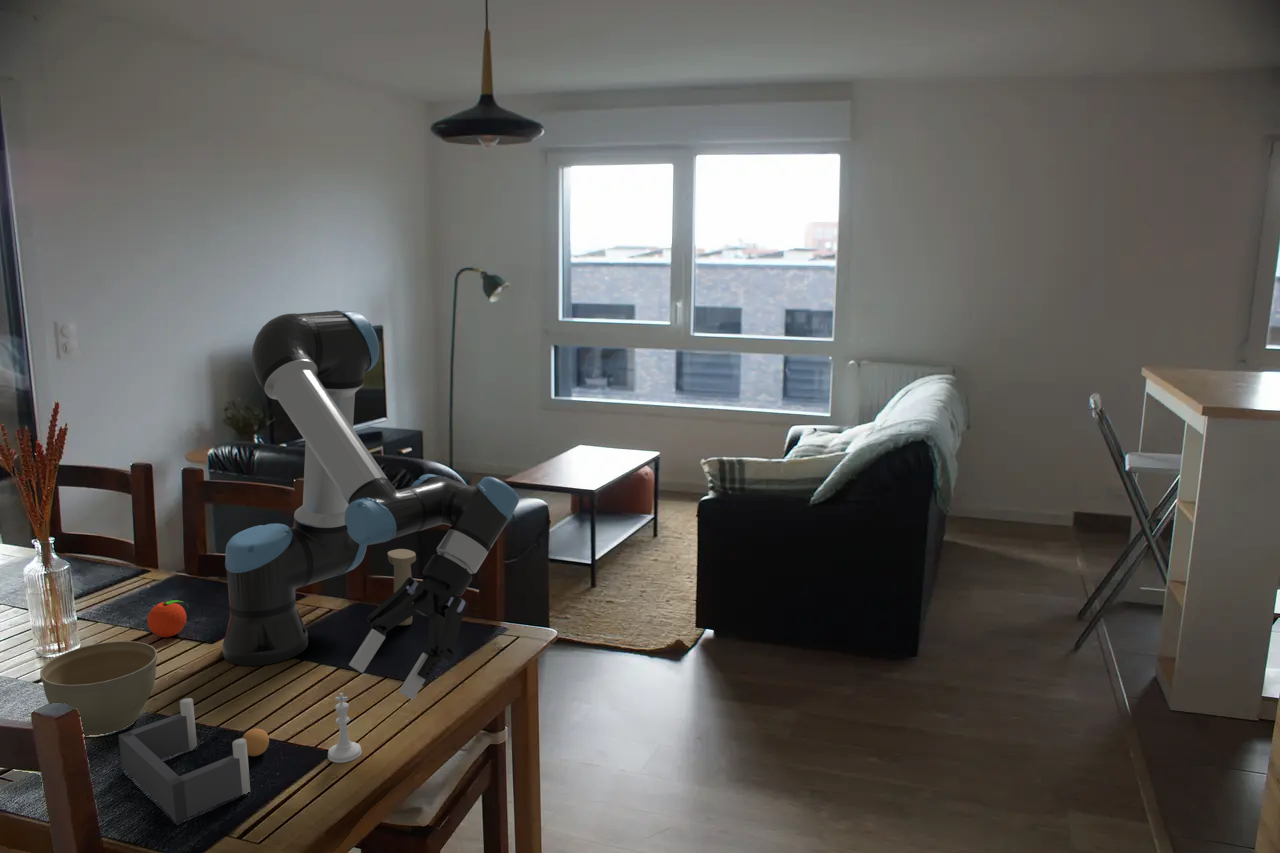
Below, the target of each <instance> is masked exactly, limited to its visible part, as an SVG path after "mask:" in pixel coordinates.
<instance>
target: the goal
mask: <svg viewBox="0 0 1280 853" xmlns="http://www.w3.org/2000/svg"><path fill="white" fill-rule="evenodd" d="M179 707H180V713H177V714H174V715H171V716H168V717H166V718H163V719H159V720H157V721H155V722H152V723H148V724H146V725H143V726H140V727H137V728H134V729H131V730H129V731H126V732H123V733H120V734H118V744H119V745H118V746H119V753H120V762H121V768H122V767H123V768H124V769H125V770H126V771H127V772H128V773H129V774H130V775H131V776H132V777H133V778H134V779H135V780H136V781H137V782H138V784H140V785H141V787H143V789H145V790H146V791H147V792H148V793H149V794H150V795H151V796H152V797H153V798H154V799H155V800H156V801H157V802H158V803H159V804H160V805H161V806H162V807H163V809H164V810H165V811H166V812H167V813H168V814H169V815H170V816H171V818H172V819H173V820H174V821H175V822H177V821H180V820H182V819H185V818H187V817H190V816H192V815H195V814H197V813H198V812H199V811H203V810H205V809H206V808H210V807H211V806H215V805H216V804H219V803H222V802H224V801H227V800H230V799H233V798H234V797H238V796H240V795H243V794H247V793H248V792H250V793H251V785H250V784H251V783H250V770H249V755H247V743H246V739H242V738H237V739H235V740H233V741H232V743H231V744H232V755H230V756H228V757H225V758H222V759H220V760H217V761H215V762H211V763H209V764H207V765H205V766H202V767H199V768H197V769H194V770H192V771H190V772H187V773H185V774H182V775H179V774H177V773H176V771H174V770H173V769H171V767H170V766H168V765H167V764H166V763H165V762H163V761H162V760H161V759H162V758H164V757H168V756H172V755H175V754H177V753H180V752H183V751H186V750H188V749H193V748H195V747H196V746H197V747H198V742H197V740H198V739H197V730H196V721H195V720H196V718H195V707H194V698H192V697H191V698H190V697H188V698H187V697H186V698H183V699H180V701H179Z"/></svg>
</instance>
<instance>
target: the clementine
mask: <svg viewBox="0 0 1280 853" xmlns="http://www.w3.org/2000/svg"><path fill="white" fill-rule="evenodd" d="M178 602H179V603H178ZM180 603H184V604H186V606H187V607H189V605H188V603H186V602H184V601H181V600H177V599H176V600H175V599H174V600H173V599H172V600H168V601H163V602H159V603H158V604H156V605H155V606H154V607H151V610H150V611H149V613H148V615H147V619H146V620H147V621H146V622H147V626H148V629H149V631H150V632H151V633H153V634H154V635H155V636H157V637H161V638H169V637H173V636H175V635H178V634H179V633H180V632H182V630H183V629H184V627H185V625H186V623H187V618H188V616H187V613H186V610H185V608H184V607H183V606H182V605H181V604H180Z"/></svg>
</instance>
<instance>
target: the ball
mask: <svg viewBox="0 0 1280 853" xmlns="http://www.w3.org/2000/svg"><path fill="white" fill-rule="evenodd" d="M241 739H246V743H247V755H248V757H258V756H260V755H262V754H264V752H266V750H267V749H268V748H269V745H270V744H269V743H270V737H269V735H268V733H267V732H266V731H265V730H264V729H262V728H256V727H255V728H251V729H249V730H247V731H246V732H245V733H244V734H243V736H242V737H241Z"/></svg>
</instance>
